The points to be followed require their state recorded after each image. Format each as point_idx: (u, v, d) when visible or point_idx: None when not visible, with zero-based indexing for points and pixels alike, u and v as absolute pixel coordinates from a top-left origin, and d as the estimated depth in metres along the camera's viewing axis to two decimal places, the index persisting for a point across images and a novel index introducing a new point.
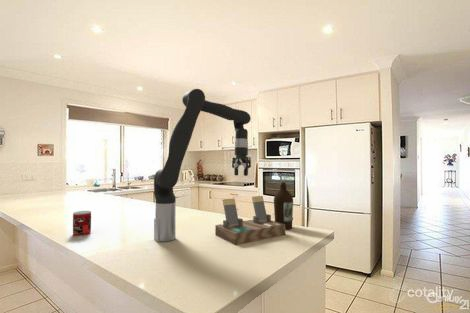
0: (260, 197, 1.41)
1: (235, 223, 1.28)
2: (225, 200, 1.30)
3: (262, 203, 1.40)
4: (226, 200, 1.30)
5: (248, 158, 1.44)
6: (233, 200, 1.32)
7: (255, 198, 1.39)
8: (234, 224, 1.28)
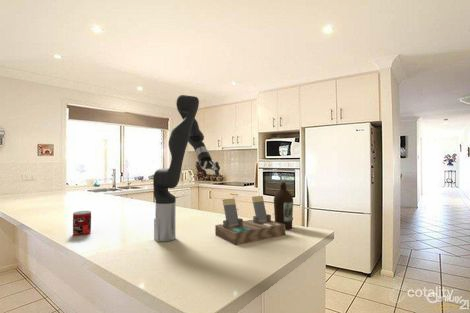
0: (260, 197, 1.41)
1: (235, 223, 1.28)
2: (225, 200, 1.30)
3: (262, 203, 1.40)
4: (226, 200, 1.30)
5: None
6: (233, 200, 1.32)
7: (255, 198, 1.39)
8: (234, 224, 1.28)
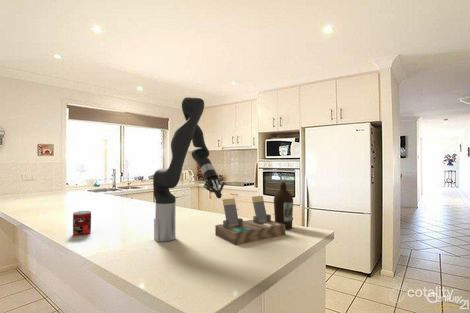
0: (260, 197, 1.41)
1: (235, 223, 1.28)
2: (225, 200, 1.30)
3: (262, 203, 1.40)
4: (226, 200, 1.30)
5: None
6: (233, 200, 1.32)
7: (255, 198, 1.39)
8: (234, 224, 1.28)
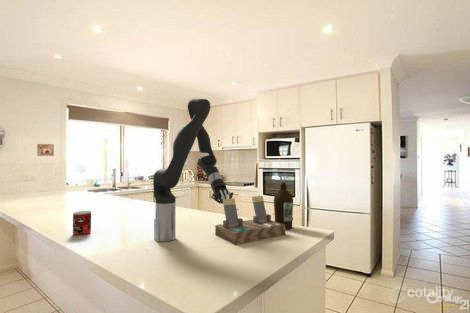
0: (260, 197, 1.41)
1: (235, 223, 1.28)
2: (225, 200, 1.30)
3: (262, 203, 1.40)
4: (226, 200, 1.30)
5: (232, 194, 1.39)
6: (233, 200, 1.32)
7: (255, 198, 1.39)
8: (234, 224, 1.28)
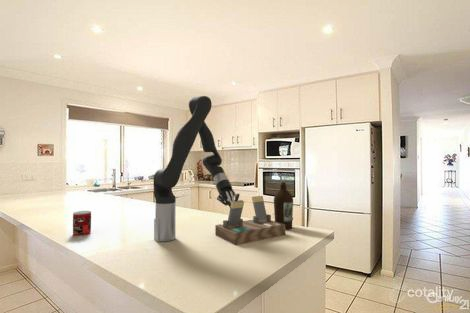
0: (260, 197, 1.41)
1: (236, 224, 1.28)
2: (234, 204, 1.23)
3: (262, 203, 1.40)
4: (235, 204, 1.23)
5: (238, 196, 1.35)
6: (242, 203, 1.25)
7: (255, 198, 1.39)
8: (234, 225, 1.28)
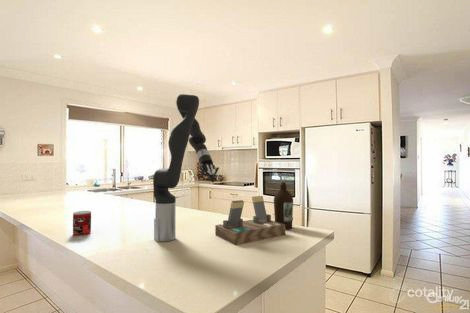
0: (260, 197, 1.41)
1: (236, 224, 1.28)
2: (234, 204, 1.23)
3: (262, 203, 1.40)
4: (235, 204, 1.23)
5: None
6: (242, 203, 1.25)
7: (255, 198, 1.39)
8: (234, 225, 1.28)
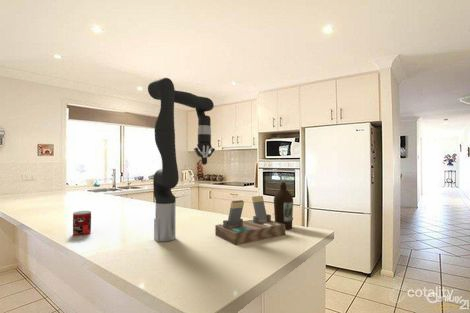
0: (260, 197, 1.41)
1: (236, 224, 1.28)
2: (234, 204, 1.23)
3: (262, 203, 1.40)
4: (235, 204, 1.23)
5: None
6: (242, 203, 1.25)
7: (255, 198, 1.39)
8: (234, 225, 1.28)
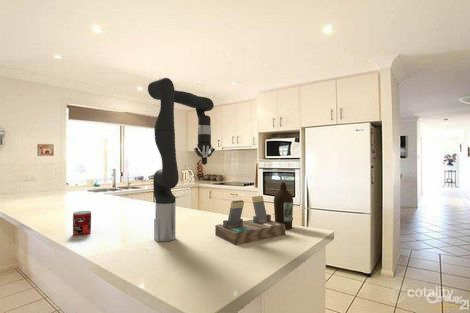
0: (260, 197, 1.41)
1: (236, 224, 1.28)
2: (234, 204, 1.23)
3: (262, 203, 1.40)
4: (235, 204, 1.23)
5: None
6: (242, 203, 1.25)
7: (255, 198, 1.39)
8: (234, 225, 1.28)
